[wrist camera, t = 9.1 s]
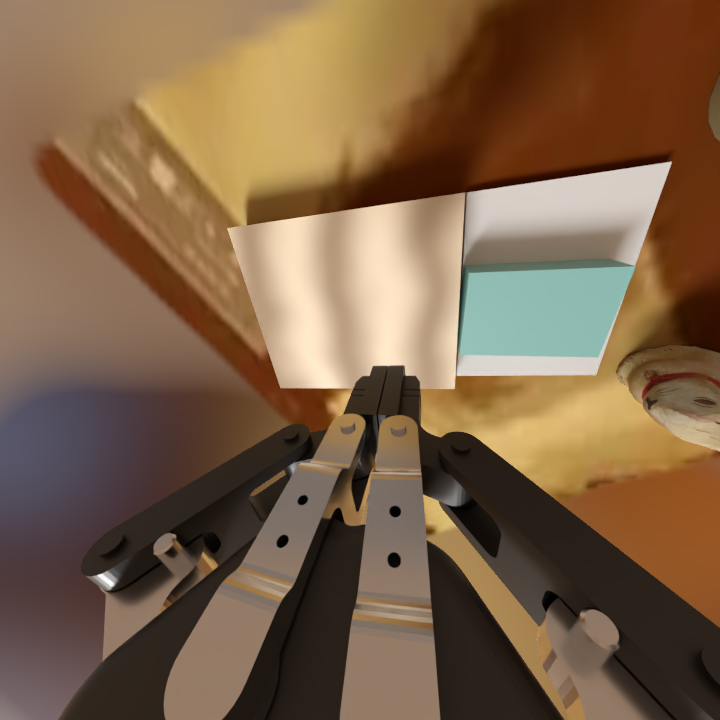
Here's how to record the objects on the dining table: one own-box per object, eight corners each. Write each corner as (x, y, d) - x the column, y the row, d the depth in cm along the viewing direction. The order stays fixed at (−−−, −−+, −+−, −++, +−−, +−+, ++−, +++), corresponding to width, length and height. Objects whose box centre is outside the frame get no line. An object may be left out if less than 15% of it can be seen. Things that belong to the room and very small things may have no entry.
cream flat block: (459, 193, 18) (464, 192, 15) (451, 372, 24) (454, 388, 22) (246, 225, 21) (227, 228, 19) (291, 373, 28) (280, 387, 26)
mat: (665, 162, 15) (672, 161, 15) (592, 371, 22) (595, 375, 21) (465, 192, 17) (467, 192, 17) (456, 372, 24) (456, 375, 24)
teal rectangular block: (609, 258, 17) (635, 266, 15) (579, 341, 20) (598, 357, 18) (463, 265, 19) (469, 273, 17) (455, 340, 22) (459, 354, 20)
